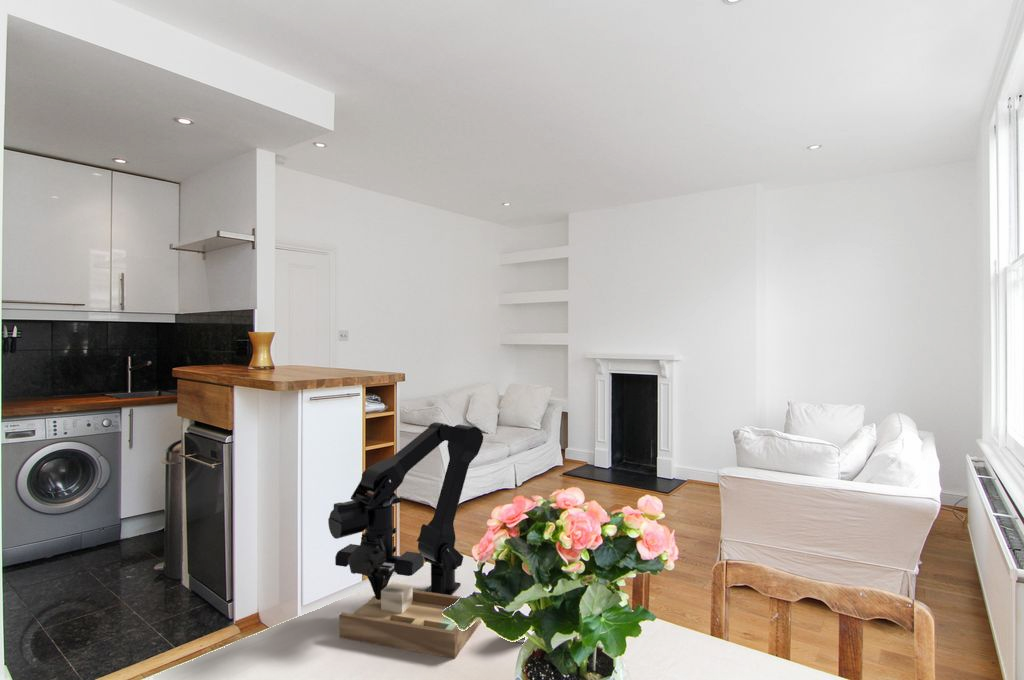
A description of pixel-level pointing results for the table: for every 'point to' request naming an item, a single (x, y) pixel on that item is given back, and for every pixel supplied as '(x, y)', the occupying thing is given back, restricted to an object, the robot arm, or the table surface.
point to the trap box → (408, 625)
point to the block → (396, 597)
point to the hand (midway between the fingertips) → (379, 599)
